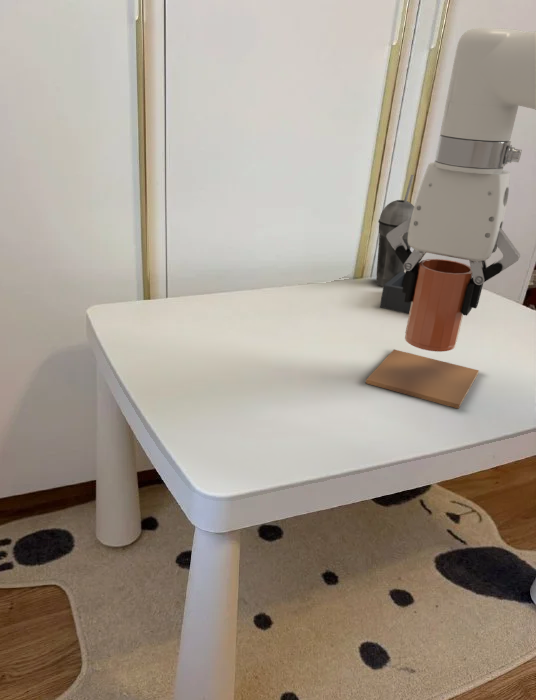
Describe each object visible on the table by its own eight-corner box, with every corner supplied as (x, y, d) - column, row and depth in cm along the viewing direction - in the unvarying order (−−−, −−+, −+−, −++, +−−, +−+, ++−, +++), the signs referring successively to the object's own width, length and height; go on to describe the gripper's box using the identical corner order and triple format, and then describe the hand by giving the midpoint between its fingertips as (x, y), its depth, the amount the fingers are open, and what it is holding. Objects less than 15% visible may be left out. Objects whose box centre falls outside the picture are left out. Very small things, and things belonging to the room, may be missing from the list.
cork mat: (478, 374, 87) (479, 370, 86) (458, 409, 77) (459, 404, 77) (393, 352, 92) (393, 349, 91) (365, 383, 82) (366, 379, 82)
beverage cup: (362, 278, 123) (378, 171, 114) (396, 277, 125) (415, 171, 116) (378, 290, 117) (397, 177, 108) (414, 289, 119) (435, 178, 110)
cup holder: (451, 303, 113) (456, 282, 111) (437, 320, 105) (442, 297, 103) (397, 292, 117) (400, 271, 115) (379, 307, 109) (383, 284, 107)
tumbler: (460, 339, 83) (478, 265, 79) (448, 355, 78) (467, 277, 74) (412, 328, 86) (427, 256, 81) (398, 343, 81) (413, 267, 76)
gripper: (556, 161, 71) (514, 312, 79) (405, 144, 78) (381, 284, 86) (549, 168, 65) (504, 330, 73) (386, 149, 72) (362, 299, 81)
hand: (437, 304), depth 80 cm, fingers closed on tumbler, 6 cm apart
